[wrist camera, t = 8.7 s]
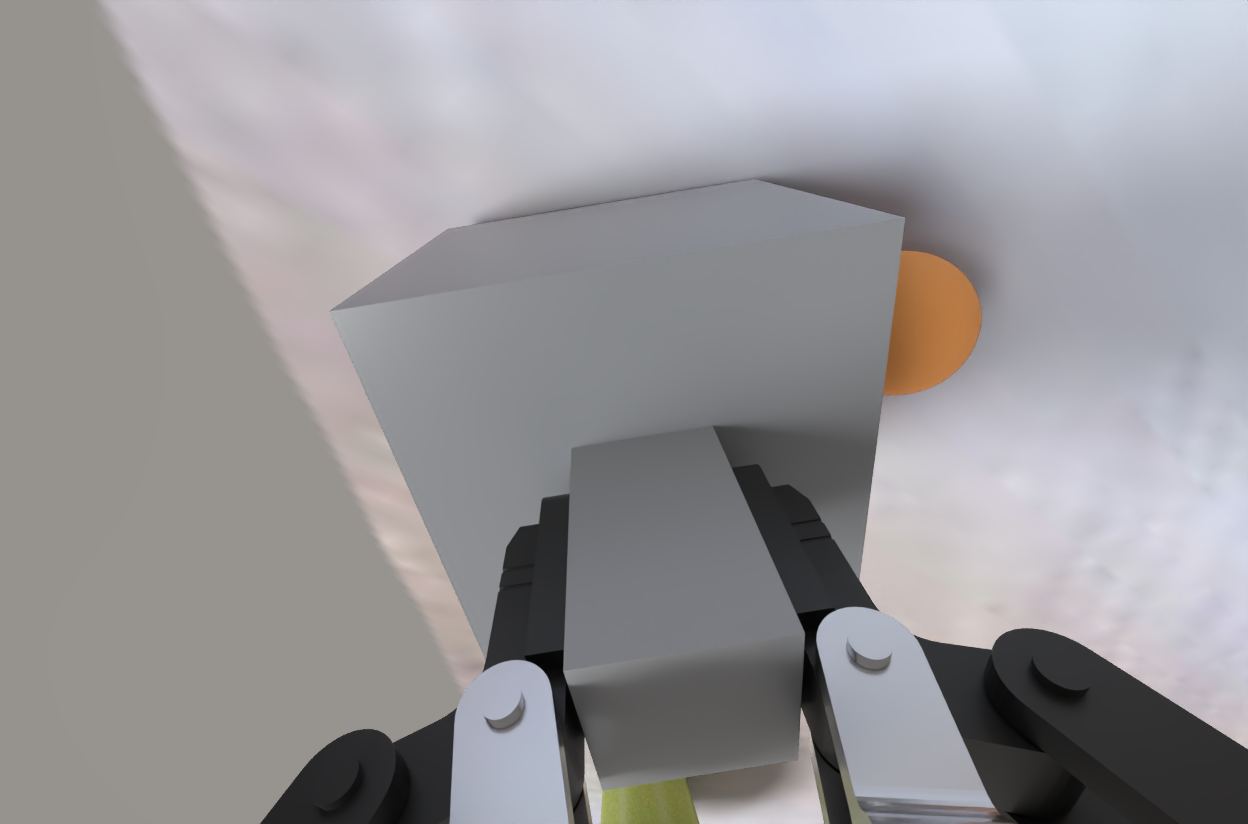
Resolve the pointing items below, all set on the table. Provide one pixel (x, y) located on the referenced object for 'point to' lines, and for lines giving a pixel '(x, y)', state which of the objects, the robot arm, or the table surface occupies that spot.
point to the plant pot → (649, 804)
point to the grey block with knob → (643, 438)
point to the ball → (930, 323)
